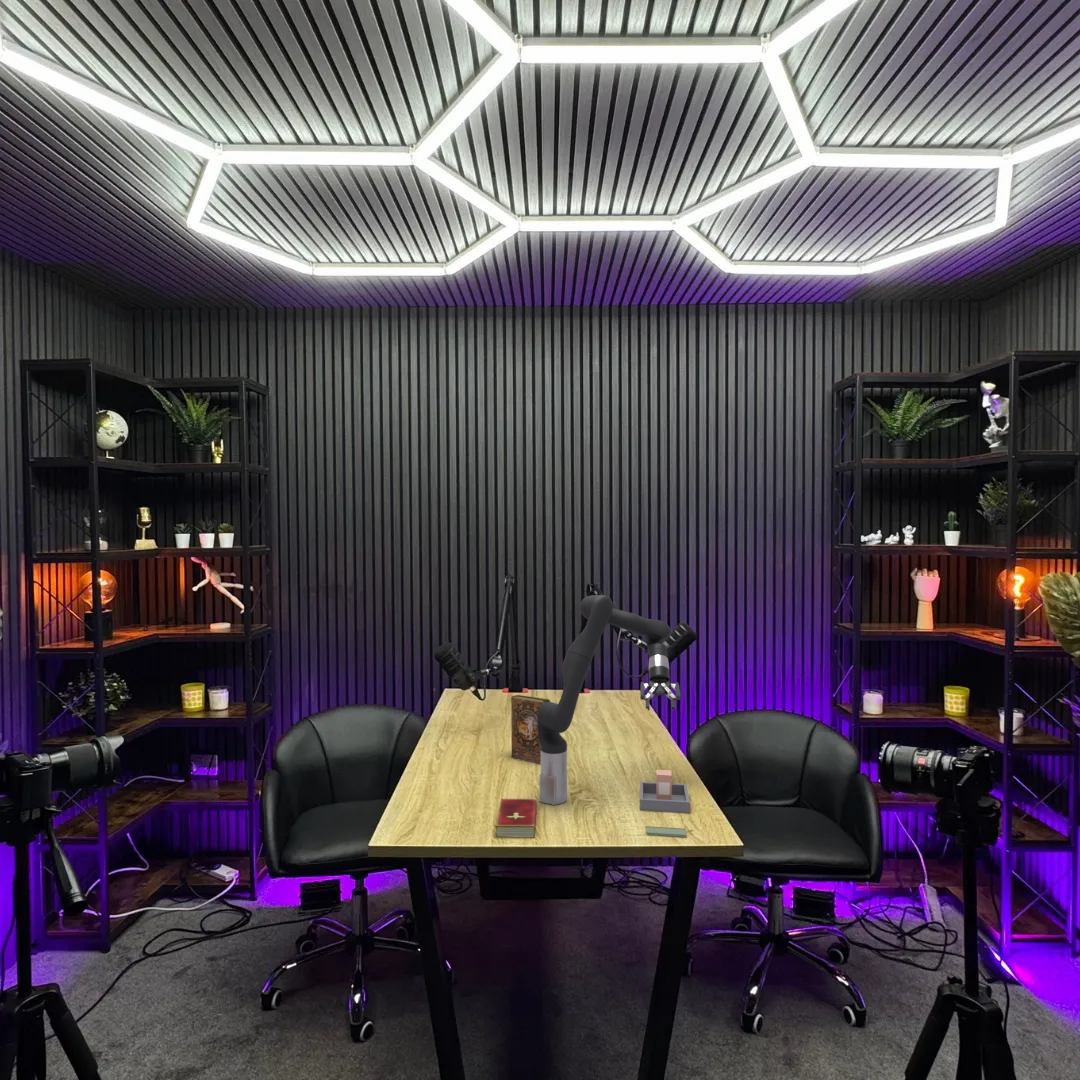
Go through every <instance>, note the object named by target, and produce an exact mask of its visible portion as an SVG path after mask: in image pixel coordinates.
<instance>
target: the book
mask: <svg viewBox="0 0 1080 1080" xmlns="http://www.w3.org/2000/svg"><path fill="white" fill-rule="evenodd" d="M510 698H511V701H510V702H511V708H510V709H511V712H510V713H511V716H510V717H511V718H510V720H511V723H510V724H511V725H510V726H511V733H510V734H511V736H510V737H511V759H512V758H513V759H514V760H517V759H519V760H518V761H522V760H524V761H523V762H527V761H528V762H529V763H531V764H532V763H533V764H538V765H541V747H540V743H539V740H538V726H537V716H538V711H539V708H540V707H541V705H542V704H543V703H545V702H551V700H550V699H549V698H542V697H536V696H535V697H534V696H529V695H522V694H521V695H520V694H517V695H512V696H511V697H510ZM513 759H512V760H513Z"/></svg>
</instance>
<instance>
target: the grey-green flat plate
mask: <svg viewBox="0 0 1080 1080" xmlns="http://www.w3.org/2000/svg"><path fill="white" fill-rule="evenodd" d="M645 827H646V830H645V835H646V834H649V835H648V836H654V835H659V836H658V837H670V838H671V837H672V838H685V839H686V838H687V831H686V828H677V827H666V826H665V827H663V826H661V827H660V826H645Z"/></svg>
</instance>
